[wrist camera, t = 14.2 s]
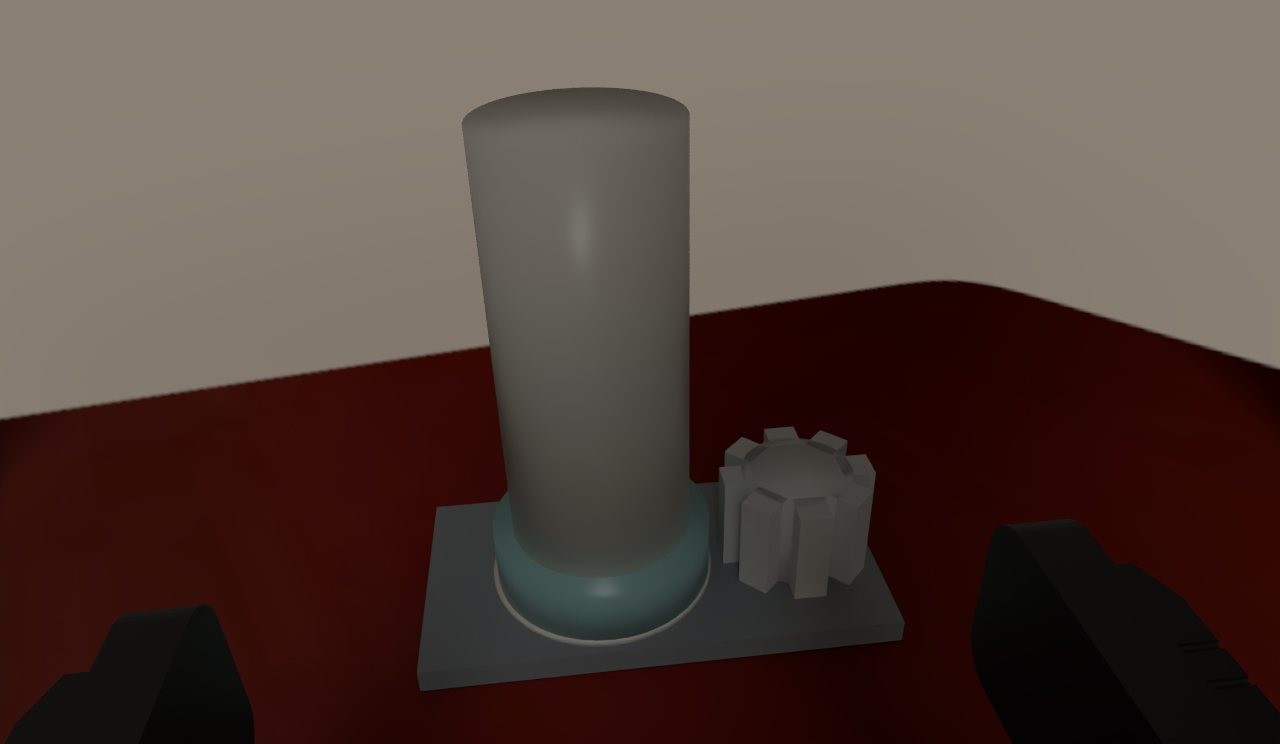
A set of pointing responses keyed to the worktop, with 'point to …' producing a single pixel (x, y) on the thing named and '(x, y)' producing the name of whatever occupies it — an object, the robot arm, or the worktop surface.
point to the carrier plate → (732, 594)
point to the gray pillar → (590, 355)
